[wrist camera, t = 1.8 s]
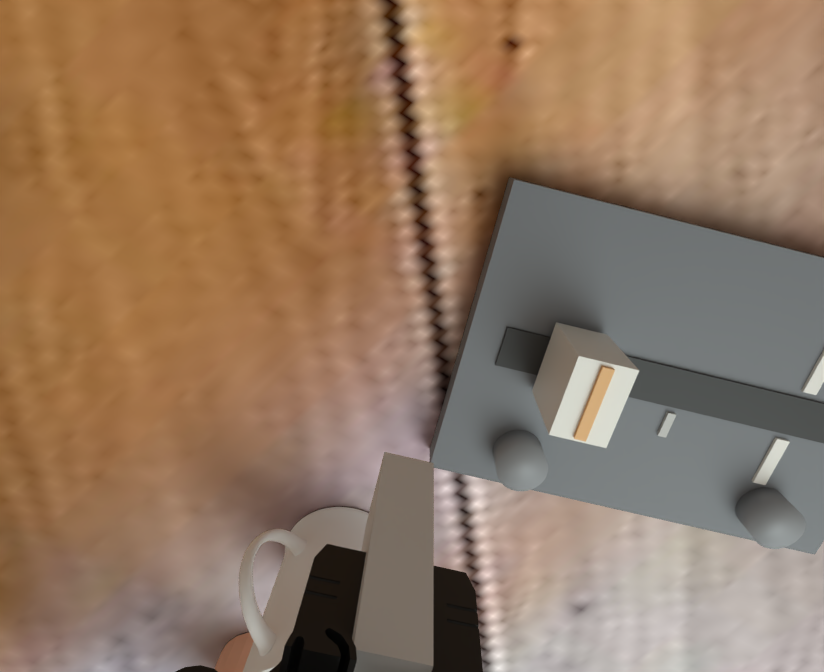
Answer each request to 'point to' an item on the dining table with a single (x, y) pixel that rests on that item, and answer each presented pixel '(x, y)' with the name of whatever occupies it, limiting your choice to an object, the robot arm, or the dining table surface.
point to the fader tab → (583, 385)
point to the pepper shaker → (235, 654)
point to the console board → (649, 368)
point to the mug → (291, 578)
